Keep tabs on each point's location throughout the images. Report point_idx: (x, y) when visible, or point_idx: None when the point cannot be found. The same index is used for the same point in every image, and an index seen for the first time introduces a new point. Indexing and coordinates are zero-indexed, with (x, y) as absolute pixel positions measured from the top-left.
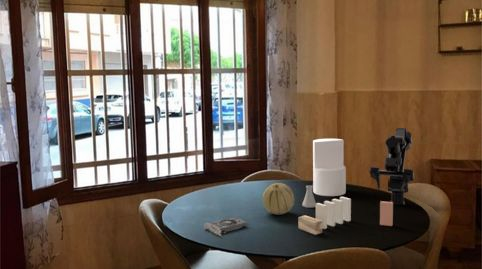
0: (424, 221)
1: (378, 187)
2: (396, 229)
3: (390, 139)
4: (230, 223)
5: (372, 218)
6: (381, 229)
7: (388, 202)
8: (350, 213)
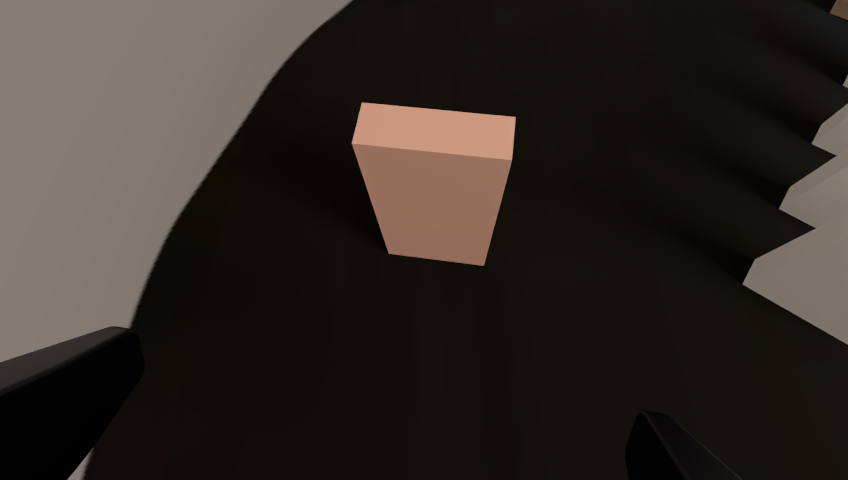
0: None
1: (664, 421)
2: None
3: None
4: None
5: (569, 398)
6: None
7: (409, 122)
8: (794, 259)
